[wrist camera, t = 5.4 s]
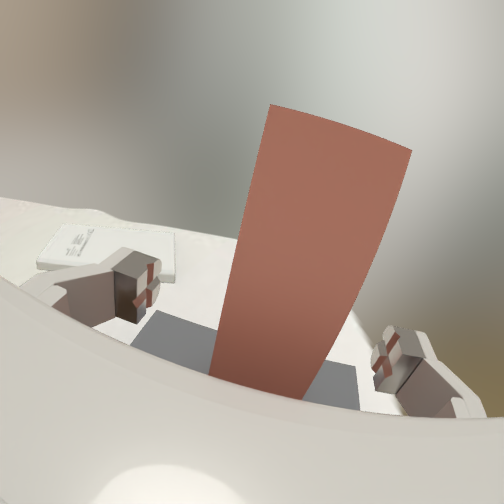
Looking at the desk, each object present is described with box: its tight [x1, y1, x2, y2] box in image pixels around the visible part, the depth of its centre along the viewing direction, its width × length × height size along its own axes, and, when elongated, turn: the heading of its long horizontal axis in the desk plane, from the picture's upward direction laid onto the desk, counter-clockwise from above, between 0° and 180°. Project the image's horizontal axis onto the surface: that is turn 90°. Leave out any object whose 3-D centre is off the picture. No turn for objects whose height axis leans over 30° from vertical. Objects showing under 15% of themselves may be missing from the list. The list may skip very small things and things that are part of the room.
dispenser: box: [130, 310, 360, 411], centre depth 12 cm, size 12×10×3 cm
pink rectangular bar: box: [208, 104, 412, 400], centre depth 10 cm, size 2×5×14 cm, turn 170°
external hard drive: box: [36, 223, 175, 283], centre depth 25 cm, size 2×8×12 cm
